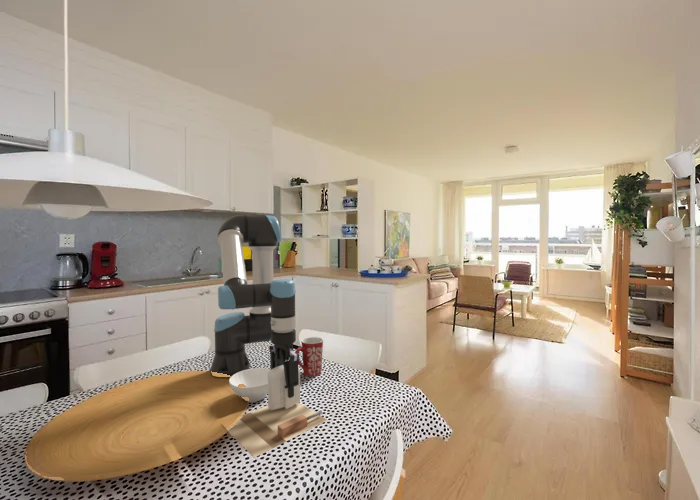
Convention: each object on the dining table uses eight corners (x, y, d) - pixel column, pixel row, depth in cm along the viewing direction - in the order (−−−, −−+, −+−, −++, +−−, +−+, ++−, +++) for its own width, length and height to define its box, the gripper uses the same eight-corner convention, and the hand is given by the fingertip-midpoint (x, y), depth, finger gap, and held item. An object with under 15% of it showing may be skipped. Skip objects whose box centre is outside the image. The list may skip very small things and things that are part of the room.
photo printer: (296, 397, 105) (296, 359, 105) (302, 402, 102) (301, 363, 101) (266, 406, 100) (265, 366, 99) (270, 412, 96) (270, 371, 96)
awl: (282, 438, 85) (282, 429, 85) (277, 434, 87) (277, 425, 87) (323, 417, 95) (323, 409, 95) (318, 414, 96) (318, 406, 96)
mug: (314, 366, 137) (314, 335, 137) (328, 372, 131) (327, 339, 130) (289, 375, 129) (289, 341, 128) (302, 382, 122) (302, 347, 122)
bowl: (284, 400, 108) (283, 380, 108) (234, 414, 100) (234, 391, 100) (269, 383, 122) (269, 364, 122) (225, 393, 114) (224, 373, 113)
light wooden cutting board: (220, 429, 92) (220, 424, 92) (289, 401, 108) (289, 396, 108) (254, 463, 78) (254, 457, 77) (327, 425, 93) (327, 420, 93)
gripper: (258, 326, 104) (259, 397, 104) (289, 338, 91) (290, 419, 92) (278, 322, 109) (279, 390, 110) (310, 332, 96) (311, 409, 97)
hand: (284, 403), depth 101 cm, fingers closed on photo printer, 5 cm apart
